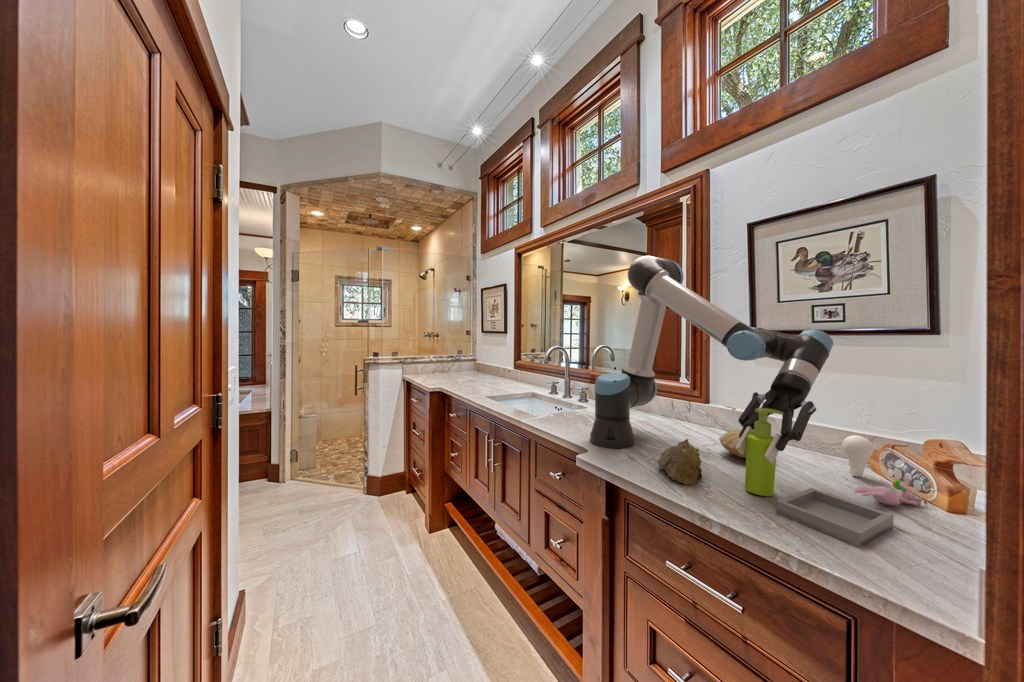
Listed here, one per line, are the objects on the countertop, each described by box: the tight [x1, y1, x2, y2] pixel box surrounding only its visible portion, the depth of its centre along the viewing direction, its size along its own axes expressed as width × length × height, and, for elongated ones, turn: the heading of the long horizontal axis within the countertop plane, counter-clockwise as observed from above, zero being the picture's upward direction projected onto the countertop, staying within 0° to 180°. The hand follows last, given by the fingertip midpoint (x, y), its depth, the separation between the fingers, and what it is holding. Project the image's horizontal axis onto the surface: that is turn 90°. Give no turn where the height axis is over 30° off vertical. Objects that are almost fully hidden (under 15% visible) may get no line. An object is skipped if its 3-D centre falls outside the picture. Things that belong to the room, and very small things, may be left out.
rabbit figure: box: [854, 479, 928, 507], centre depth 83 cm, size 6×6×15 cm
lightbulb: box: [841, 434, 875, 478], centre depth 98 cm, size 6×6×11 cm
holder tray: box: [776, 487, 894, 548], centre depth 77 cm, size 14×14×3 cm
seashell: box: [656, 438, 703, 486], centre depth 100 cm, size 11×15×10 cm
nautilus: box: [718, 428, 774, 459], centre depth 114 cm, size 8×22×15 cm
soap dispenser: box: [744, 407, 784, 497], centre depth 88 cm, size 6×7×20 cm
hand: (753, 454), depth 87 cm, fingers closed on soap dispenser, 6 cm apart
